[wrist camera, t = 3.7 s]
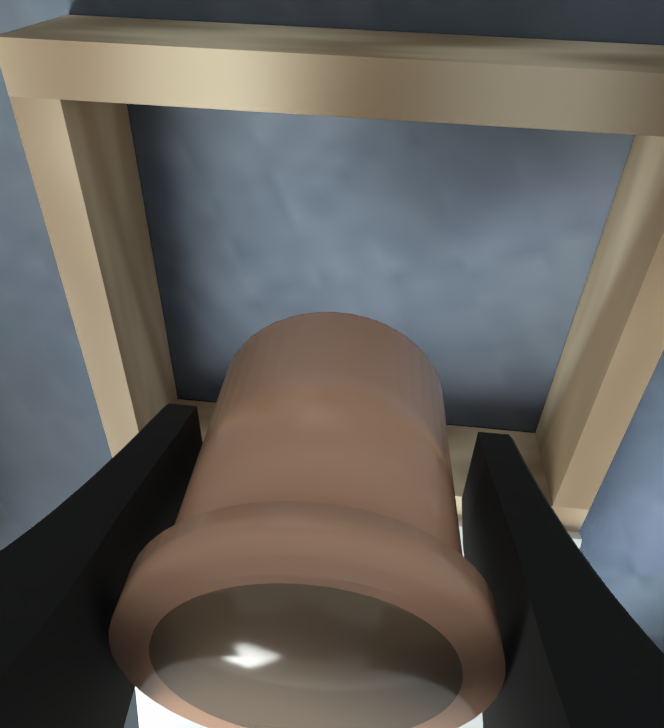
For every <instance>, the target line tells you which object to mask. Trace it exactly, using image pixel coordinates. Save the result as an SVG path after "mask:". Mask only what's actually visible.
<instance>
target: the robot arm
mask: <svg viewBox="0 0 664 728" xmlns="http://www.w3.org/2000/svg"><path fill="white" fill-rule="evenodd" d="M202 443H203V442H202V435H201V429H200V422H199V416H198V410H197V406H192V405H181V404H170V403H168V404H167V405H166V406H165V407H163V408H162V409H161V410H160V411H159V412H158V413H157V414H156V415H155V416H154V417H153V418H152V419H151V420H150V421H149V422H148V423H147V424H146V425H145V427H144V428H143V429H142V430H141V431H140V432H139V433H138V434H137V435H136V436H135V437H134V438H133V439H132V440H131V441H130V442H128V443H127V444H126V445H125V446H124V447H123V448H122V449H121V450H120V451H119V452H118V453H117V454H116V455H115V456H114V457H113V458H112V459H111V460H110V461H109V462H108V463H107V464H106V465H105V466H103V467H102V468H101V469H100V470H99V471H98V472H97V473H96V474H95V475H94V476H93V477H92V478H91V479H90V480H88V481H87V482H86V483H85V484H84V485H83V486H82V487H80V488H79V489H78V490H77V491H76V492H75V493H73V494H72V495H71V496H70V497H69V498H68V499H66V500H65V501H64V502H63V503H62V504H61V505H59V506H58V507H57V508H56V509H55V510H54V511H52V512H51V513H50V514H49V515H47V516H46V517H45V518H44V519H42V520H41V521H40V522H39V523H37V524H36V525H35V526H33V527H32V528H31V529H30V530H28V531H27V532H26V533H24V534H23V535H22V536H20V537H19V538H17V539H16V540H15V541H13V542H12V543H11V544H9V545H8V546H7V547H5V548H4V549H2V550H1V551H0V728H123V727H124V724H125V720H126V716H127V713H128V709H129V705H130V702H131V698H132V694H133V691H134V687H135V686H134V685H133V684H132V683H131V682H130V681H129V680H128V679H127V677H126V676H125V675H124V674H123V672H122V671H121V670H120V669H119V667H118V665H117V663H116V661H115V660H114V658H113V656H112V652H111V649H110V646H109V627H110V623H111V619H112V616H113V613H114V611H115V608H116V606H117V603H118V601H119V598H120V595H121V593H122V590H123V588H124V585H125V582H126V580H127V577H128V575H129V572H130V570H131V567H132V565H133V563H134V562H135V560H136V558H137V556H138V554H139V553H140V552H141V551H142V550H143V549H144V547H145V546H146V545H147V544H148V543H149V542H150V541H151V540H153V539H154V538H155V537H156V536H158V535H159V534H160V533H162V532H163V531H165V530H166V529H168V528H170V527H172V526H174V525H175V522H176V519H177V516H178V513H179V510H180V507H181V505H182V502H183V499H184V496H185V493H186V490H187V487H188V484H189V481H190V478H191V475H192V472H193V470H194V467H195V464H196V461H197V458H198V455H199V452H200V449H201V446H202ZM462 535H463V551H464V557H465V558H466V559H467V560H468V561H469V562H470V563H471V564H472V565H473V566H474V567H475V568H476V569H477V570H478V572H479V573H480V574H481V575H482V577H483V578H484V579H485V580H486V582H487V584H488V586H489V588H490V590H491V592H492V594H493V597H494V601H495V605H496V608H497V614H498V620H499V627H500V633H501V639H502V645H503V651H504V657H505V679H504V682H503V686H502V688H501V690H500V692H499V694H498V695H497V697H496V699H495V700H494V701H493V702H492V703H491V704H490V706H489V707H488V708H487V709H486V710H485V711H483V712H482V716H483V728H664V653H663V652H662V651H661V650H660V649H659V648H658V647H657V646H656V645H655V644H654V642H653V641H652V640H651V639H650V638H649V637H648V636H647V634H646V633H645V632H644V631H643V630H642V629H641V627H640V626H639V625H638V624H637V623H636V622H635V621H634V619H633V618H632V617H631V616H630V615H629V613H628V612H627V611H626V610H625V609H624V607H623V606H622V605H621V604H620V602H619V601H618V600H617V599H616V598H615V596H614V595H613V594H612V593H611V591H610V590H609V589H608V587H607V586H606V585H605V584H604V582H603V581H602V580H601V578H600V577H599V576H598V574H597V573H596V572H595V570H594V569H593V568H592V566H591V565H590V563H589V562H588V561H587V559H586V558H585V557H584V555H583V554H582V552H581V551H580V550H579V548H578V547H577V545H576V544H575V542H574V541H573V539H572V538H571V536H570V535H569V533H568V532H567V530H566V529H565V527H564V526H563V524H562V523H561V521H560V520H559V518H558V516H557V515H556V513H555V512H554V510H553V509H552V507H551V505H550V504H549V502H548V501H547V499H546V497H545V496H544V494H543V492H542V491H541V489H540V487H539V486H538V484H537V482H536V480H535V479H534V477H533V475H532V473H531V472H530V470H529V468H528V466H527V464H526V463H525V461H524V459H523V457H522V455H521V453H520V451H519V449H518V448H517V446H516V444H515V442H514V440H513V438H512V437H511V436H510V435H509V434H498V433H487V432H478V434H477V438H476V442H475V446H474V450H473V454H472V458H471V463H470V467H469V471H468V475H467V479H466V483H465V487H464V491H463V495H462Z"/></svg>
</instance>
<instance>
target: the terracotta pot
mask: <svg viewBox="0 0 664 728" xmlns="http://www.w3.org/2000/svg"><path fill="white" fill-rule="evenodd" d="M109 646H110V649H111V652H112V656H113V658H114V660H115V661H116V663H117V665H118V667H119V669H120V670H121V671H122V672H123V674H124V675H125V676H126V677H127V679H128V680H129V681H130V682H131V683H132V684H133V685H134V686H136V687H137V688H138V689H139V690H140V691H141V692H142V693H144V694H145V695H146V696H148V697H149V698H150V699H152V700H153V701H155V702H156V703H158V704H159V705H161V706H163V707H164V708H166V709H168V710H169V711H171V712H173V713H175V714H177V715H179V716H181V717H183V718H185V719H188V720H190V721H192V722H195V723H197V724H200V725H202V726H204V727H207V728H459V727H461V726H462V725H464V724H466V723H468V722H469V721H471V720H473V719H474V718H476V717H477V716H478V715H479V714H481V713H482V712H483V711H485V710H486V709H487V708H488V707H489V706H490V704H491V703H492V702H493V701H494V700H495V699H496V697H497V695H498V694H499V692H500V690H501V688H502V686H503V682H504V679H505V657H504V651H503V645H502V639H501V633H500V627H499V620H498V614H497V608H496V605H495V601H494V597H493V594H492V592H491V590H490V588H489V586H488V584H487V582H486V580H485V579H484V578H483V577H482V575H481V574H480V573H479V572H478V570H477V569H476V568H475V567H474V566H473V565H472V564H471V563H470V562H469V561H468V560H467V559H466V558H465V557H463V555H462V547H461V539H460V531H459V523H458V514H457V506H456V498H455V490H454V482H453V474H452V466H451V458H450V450H449V442H448V434H447V426H446V417H445V409H444V401H443V393H442V387H441V384H440V380H439V377H438V375H437V372H436V370H435V368H434V366H433V365H432V363H431V362H430V360H429V358H428V357H427V356H426V355H425V353H424V352H423V351H422V350H421V349H420V348H419V347H418V346H417V345H416V344H415V343H414V342H412V341H411V340H410V339H409V338H408V337H406V336H405V335H403V334H402V333H400V332H398V331H397V330H395V329H393V328H391V327H389V326H387V325H385V324H383V323H381V322H378V321H375V320H372V319H369V318H366V317H362V316H358V315H353V314H346V313H338V312H317V313H308V314H301V315H297V316H293V317H288V318H286V319H283V320H280V321H277V322H275V323H273V324H271V325H269V326H267V327H265V328H263V329H261V330H260V331H259V332H257V333H256V334H254V335H253V336H252V337H250V338H249V339H248V340H247V341H246V342H245V343H244V344H243V345H242V346H241V348H240V349H239V350H238V351H237V353H236V354H235V355H234V357H233V359H232V361H231V363H230V365H229V367H228V370H227V373H226V376H225V379H224V382H223V385H222V388H221V391H220V394H219V397H218V399H217V402H216V405H215V408H214V411H213V414H212V417H211V420H210V423H209V426H208V429H207V432H206V434H205V437H204V440H203V443H202V446H201V449H200V452H199V455H198V458H197V461H196V464H195V467H194V470H193V472H192V475H191V478H190V481H189V484H188V487H187V490H186V493H185V496H184V499H183V502H182V505H181V507H180V510H179V513H178V516H177V519H176V522H175V525H174V526H172V527H170V528H168V529H166V530H165V531H163V532H162V533H160V534H159V535H158V536H156V537H155V538H154V539H153V540H151V541H150V542H149V543H148V544H147V545H146V546H145V547H144V549H143V550H142V551H141V552H140V553H139V554H138V556H137V558H136V560H135V562H134V563H133V565H132V567H131V570H130V572H129V575H128V577H127V580H126V582H125V585H124V588H123V590H122V593H121V595H120V598H119V601H118V603H117V606H116V608H115V611H114V613H113V616H112V619H111V623H110V627H109Z"/></svg>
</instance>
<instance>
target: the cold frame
mask: <svg viewBox="0 0 664 728" xmlns="http://www.w3.org/2000/svg"><path fill="white" fill-rule="evenodd" d="M0 66H1V70H2V73H3V77H4V80H5V84H6V87H7V91H8V94H9V98H10V101H11V105H12V108H13V112H14V115H15V119H16V122H17V126H18V129H19V133H20V136H21V140H22V143H23V147H24V150H25V154H26V157H27V161H28V164H29V168H30V171H31V175H32V178H33V182H34V185H35V189H36V192H37V196H38V199H39V203H40V206H41V210H42V213H43V217H44V220H45V224H46V227H47V231H48V234H49V238H50V241H51V245H52V248H53V252H54V255H55V259H56V262H57V266H58V269H59V273H60V276H61V280H62V283H63V287H64V290H65V294H66V297H67V301H68V304H69V308H70V311H71V315H72V318H73V322H74V325H75V329H76V332H77V336H78V339H79V343H80V346H81V350H82V353H83V357H84V360H85V364H86V367H87V371H88V374H89V378H90V381H91V385H92V388H93V392H94V395H95V399H96V402H97V406H98V409H99V413H100V416H101V420H102V423H103V427H104V430H105V434H106V437H107V441H108V444H109V448H110V451H111V455H112V458H113V457H114V456H115V455H116V454H117V453H118V452H119V451H120V450H121V449H122V448H123V447H124V446H125V445H126V444H127V443H128V442H130V441H131V440H132V439H133V438H134V437H135V436H136V435H137V434H138V433H139V432H140V431H141V430H142V429H143V428H144V427H145V425H146V424H147V423H148V422H149V421H150V420H151V419H152V418H153V417H154V416H155V415H156V414H157V413H158V412H159V411H160V410H161V409H162V408H163V407H165V406H166V405H167V404H168V403H170V404H181V405H192V406H197V410H198V416H199V422H200V429H201V435H202V442H203V440H204V437H205V434H206V432H207V429H208V426H209V423H210V420H211V417H212V414H213V411H214V408H215V405H216V403H214V402H203V401H193V400H182V399H178V398H177V392H176V387H175V381H174V375H173V369H172V363H171V358H170V352H169V346H168V340H167V334H166V329H165V323H164V317H163V311H162V305H161V300H160V294H159V288H158V282H157V277H156V271H155V265H154V259H153V253H152V248H151V242H150V236H149V230H148V224H147V219H146V213H145V207H144V201H143V195H142V190H141V184H140V178H139V172H138V167H137V161H136V155H135V149H134V143H133V138H132V132H131V126H130V120H129V114H128V109H127V104H142V105H158V106H174V107H190V108H207V109H223V110H239V111H255V112H272V113H288V114H304V115H320V116H337V117H353V118H369V119H385V120H402V121H418V122H434V123H450V124H467V125H483V126H499V127H515V128H532V129H548V130H564V131H580V132H597V133H613V134H629V135H635V138H634V141H633V144H632V147H631V150H630V153H629V156H628V159H627V162H626V165H625V168H624V170H623V173H622V176H621V179H620V182H619V185H618V188H617V191H616V194H615V197H614V200H613V203H612V206H611V209H610V212H609V215H608V218H607V221H606V224H605V227H604V230H603V233H602V236H601V239H600V242H599V245H598V248H597V251H596V254H595V257H594V260H593V263H592V266H591V269H590V272H589V275H588V278H587V281H586V284H585V287H584V290H583V292H582V295H581V298H580V301H579V304H578V307H577V310H576V313H575V316H574V319H573V322H572V325H571V328H570V331H569V334H568V337H567V340H566V343H565V346H564V349H563V352H562V355H561V358H560V361H559V364H558V367H557V370H556V373H555V376H554V379H553V382H552V385H551V388H550V391H549V394H548V397H547V400H546V403H545V406H544V409H543V412H542V414H541V417H540V420H539V423H538V426H537V429H536V432H535V433H528V432H518V431H507V430H497V429H486V428H476V427H465V426H455V425H446V426H447V434H448V442H449V450H450V458H451V466H452V474H453V482H454V490H455V498H456V506H457V514H458V523H459V531H460V539H461V547H462V555H463V557H464V551H463V535H462V495H463V491H464V487H465V483H466V479H467V475H468V471H469V467H470V463H471V458H472V454H473V450H474V446H475V442H476V438H477V434H478V432H487V433H498V434H509V435H510V436H511V437H512V438H513V440H514V442H515V444H516V446H517V448H518V449H519V451H520V453H521V455H522V457H523V459H524V461H525V463H526V464H527V466H528V468H529V470H530V472H531V473H532V475H533V477H534V479H535V480H536V482H537V484H538V486H539V487H540V489H541V491H542V492H543V494H544V496H545V497H546V499H547V501H548V502H549V504H550V505H551V507H552V509H553V510H554V512H555V513H556V515H557V516H558V518H559V520H560V521H561V523H562V524H563V526H564V527H565V529H566V530H567V532H568V533H569V535H570V536H571V538H572V539H573V541H574V542H575V544H576V545H577V547H578V548H579V550H580V546H581V542H582V538H581V536H580V533H579V531H580V529H581V526H582V524H583V522H584V520H585V518H586V516H587V513H588V511H589V509H590V507H591V505H592V503H593V501H594V498H595V496H596V494H597V492H598V490H599V488H600V486H601V483H602V481H603V479H604V477H605V475H606V473H607V471H608V468H609V466H610V464H611V462H612V460H613V458H614V456H615V453H616V451H617V449H618V447H619V445H620V443H621V440H622V438H623V436H624V434H625V432H626V430H627V428H628V425H629V423H630V421H631V419H632V417H633V415H634V413H635V410H636V408H637V406H638V404H639V402H640V400H641V398H642V395H643V393H644V391H645V389H646V387H647V385H648V383H649V380H650V378H651V376H652V374H653V372H654V370H655V367H656V365H657V363H658V361H659V359H660V357H661V355H662V352H663V350H664V45H647V44H627V43H608V42H588V41H569V40H550V39H530V38H511V37H491V36H472V35H453V34H433V33H414V32H394V31H375V30H356V29H336V28H317V27H297V26H278V25H259V24H239V23H220V22H200V21H181V20H162V19H142V18H123V17H103V16H84V15H64V16H61V17H58V18H54V19H51V20H47V21H44V22H40V23H37V24H34V25H30V26H27V27H23V28H20V29H16V30H13V31H10V32H6V33H3V34H0ZM135 690H136V700H137V710H138V720H139V728H207V727H204V726H202V725H200V724H197V723H195V722H192V721H190V720H188V719H185V718H183V717H181V716H179V715H177V714H175V713H173V712H171V711H169V710H168V709H166V708H164V707H163V706H161V705H159V704H158V703H156V702H155V701H153V700H152V699H150V698H149V697H148V696H146V695H145V694H144V693H142V692H141V691H140V690H139V689H138V688H137V687H136V686H135ZM459 728H483V716H482V713H481V714H479V715H478V716H477V717H476V718H474V719H473V720H471V721H469V722H468V723H466V724H464V725H462V726H461V727H459Z"/></svg>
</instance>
